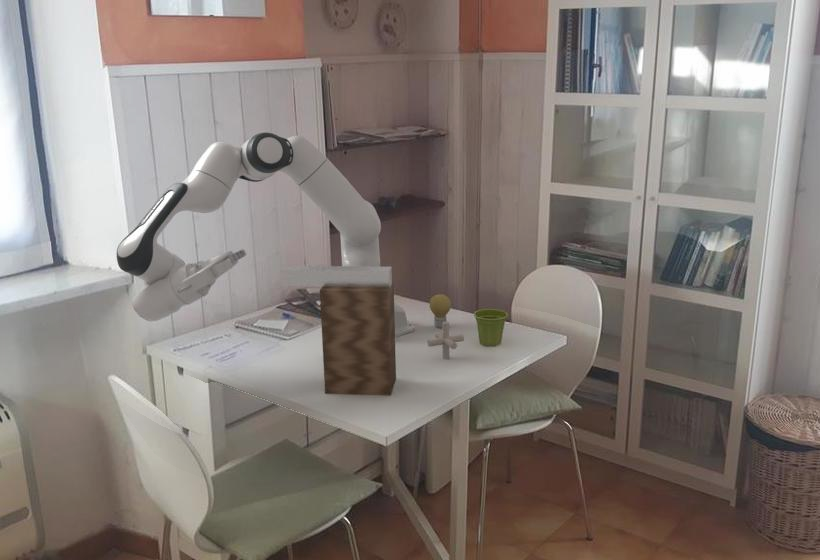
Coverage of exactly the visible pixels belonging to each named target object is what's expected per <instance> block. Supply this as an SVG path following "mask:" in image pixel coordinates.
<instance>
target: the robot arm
mask: <svg viewBox="0 0 820 560" xmlns="http://www.w3.org/2000/svg"><path fill="white" fill-rule="evenodd" d="M277 172H282V173H284V174H286V175H287V176H288V177H290V178H291V179H292V180H293V181H294V182H295V184H296V185H297V186H298V187H299V188H300V189H301V190H302V191H303V192H304V194H306V196H308V197H309V199H310V200H312V202H313V203H314V204H315V205H316V206H317V207H318V208H319V209H320V211H321V212H322V213H323V214H324V216H325V217H326V218H327V219H328V221H330V223H331V224H332V226H334V228H335V229H336V230H337V231H338V232H339V234H340V235H339V236H340V252H341V253H340V254H341V266H372V267H382V266H381V256H380V255H381V253H380V252H381V251H380V242H379V241H380V239H379V235H380V233H381V229H382V226H381V225H382V224H381V220H380V217H379V215H378V213H377V210H376V208H375V207H374V205H373V204H372V203H371V202H369V201H367V200H366V199H364V198H363V197H362V196H361V194H360V193H359V192H358V191H357V190H356V189H355V187H354V185H352V184H351V183H350V182H349V180H348V179H347V178H346V177H345V176H344V175H343V173H341V172H340V170H339V169H338V168H337V167H336V166H335V165H334V164H333V163H332V162H331V160H329V158H328V157H327V156H326V155H325V154H324V153H323V152H322V151H321V150H320V149H319V148H318V147H316V146H315V145H314V144H313V143H311V141H309V140H308V139H306V138H305V137H304V136H302V135H292V136H289V137H287V138H284V137H282V136H279V135H277V134H275V133H271V132H259V133H257V134H255V135H253V136H252V137H251V138H248V139H247V140H245V142H244V143H243V144H242V145H241V146H239V147H238V146H233V144H230V143H228V142H225V141H216V142H213V143H211V144H210V145H209V146H208V147H207V149H206V150H205V151H204V152H203V154H202V155H201V156H200V157H199V158H198V160H197V162H195V165H194V166H193V168H192V170H191V172H190V173H189V174H188V176H186V178H185V179H184V180H183V181H182V182H176V183H173V184H172V185H170V186H169V187H167V188H166V190H165V191H164V192H163V193H162V194H161V196H160V197H159V198H158V199H157V200H156V201H155V203H154V204H153V206H152V207H151V208H150V209H149V210H148V212H147V213H146V214H145V215H144V216H143V218H142V219H141V220H140V221H139V223H138V224H137V225H136V227H135V228H134V229H133V230H132V231H131V232H130V233H128V235H126V236H125V237H124V238H123V239H122V240H121V241H120V243H119V244H118V246H117V249H116V261H117V265H118V267H119V269H120V270H121V271H123V272H125V273H127V274H129V275H132V276H134V277H136V278H138V279H140V280H141V281H143V283H142V286H141V288H140V290H139V292H138V293H137V294H136V295H135V296H134V297H132V300H131V305H132V308H133V310H134V311H135V313H136V314H137V315H138V316H139V317H140V318H142V319H143V320H145V321H147V322H150V323H151V322H157V321H161V320H162V319H166V318H167V317H170V316H171V315H173V314H175V313H177V312H178V311H180V309H181V308H182V307H184V306H189V305H191V304H193V303H195V302H197V301H199V300H200V299H203V298H205V297H206V296H207V295H208V294H209V291H210V289H211V288H212V286H213V285H214V284H215V283H216V281H217V280H218V279H219V278H220V277H221V276H222V275H224V274H225V273H227V272H228V271H229V270H231V269H233V268H234V266H236V265H237V264H238V263H239V260H240V259H243V258H244V257H245V256H247V252H246V251H245V249H243V248H241V249H240V250H238V251H235V252H233V251H231V250H230V251H226V252H223V253H220V254H219V255H217V256H214V257H212V258H209V259H207V260H205V261H204V260H200V261H198V262H194V263H187V264H186V263H185V261H184V260H183V259H181V257H180V256H178V255H177V254H175V253H173V252H172V251H170V250H168V249H167V248H166V247H164V246H162V245H161V244H159V243H158V237H159V236H160V235H161V234H162V233H163V231H164V229H165V228H166V227H167V225H168V224H169V223H170V222H171V220H173V218H174V216H176V215H177V214H178V213H180V212H183V211H187V212H193V213H197V214H198V213H199V214H208V213H213V212H215V211H217V210H220V208H222V206H223V205H224V204H225V202H226V200H227V198H228V197H229V195H230V194H231V193H232V192H231V191H232V189H233V188H234V186H235V183H236V182H237V181H238V180H239V179H240V180H244V181H248V182H254V183H255V182H257V183H258V182H262V181H264V180H266V179H268V178H271V177H272V176H274V175H275V174H276V173H277ZM394 316H395V338H397V337H400V336H403V335H406V334H409V333H411V332H414V331H415V330H416V329H415V325H414V324H413V323H412V322H410V321H408V319H407V315H406V312H405V310H404V308H403V307H401V305H399V304H398V303H396V302H394Z"/></svg>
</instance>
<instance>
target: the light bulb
mask: <svg viewBox="0 0 820 560" xmlns="http://www.w3.org/2000/svg"><path fill="white" fill-rule="evenodd" d="M451 307H452V302H451V300H450V298H449V297H448V296H447V295H445V294H441V293H439V294H436V295H434V296H432V297H431V298H430V300H429V309H430V311H431V312H432V314H433V315H434V316H433V323H434V327H436V328H440V329H442V322H448V320H447V318H448V317H447V314H448V313H449V312H450V310H451Z"/></svg>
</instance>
